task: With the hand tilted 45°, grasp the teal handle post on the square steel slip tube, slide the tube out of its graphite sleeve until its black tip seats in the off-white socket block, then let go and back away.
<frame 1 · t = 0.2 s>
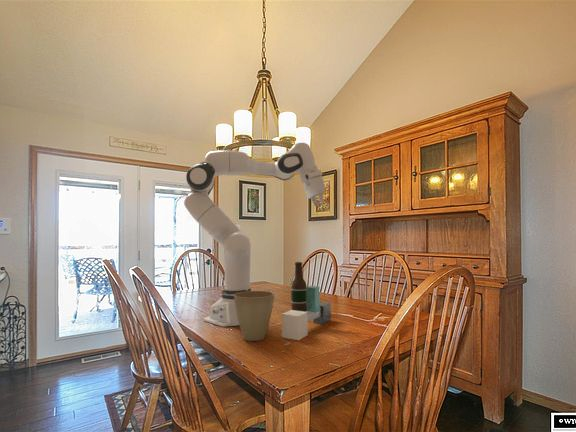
hand: (319, 204, 148), 51 cm above the table, tool tilted 15°, fingers open, 8 cm apart
beer bottle: (299, 311, 157), on the table
plant pot: (254, 338, 117), on the table
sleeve: (322, 312, 138), on the table
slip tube: (314, 301, 132), point 10 cm above the table, slide at 0.0 cm
socket block: (294, 324, 118), on the table
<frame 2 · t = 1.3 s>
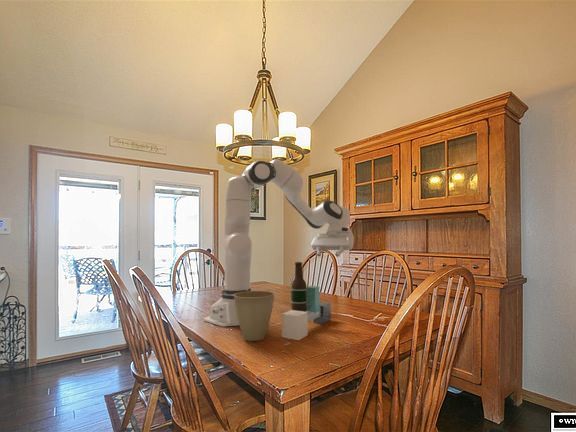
hand: (327, 255, 146), 28 cm above the table, tool tilted 45°, fingers open, 8 cm apart
nothing on the table moved.
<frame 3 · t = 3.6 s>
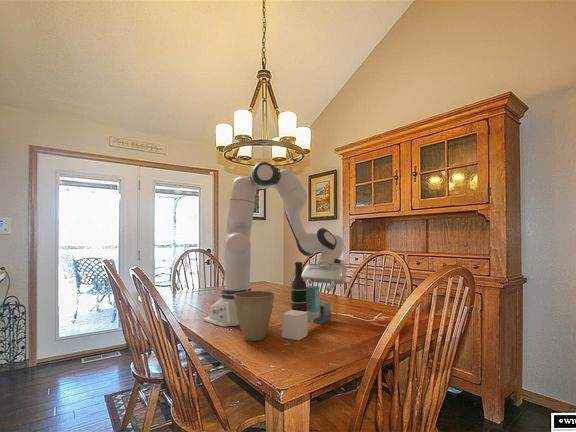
hand: (318, 289, 136), 14 cm above the table, tool tilted 45°, fingers open, 8 cm apart
nothing on the table moved.
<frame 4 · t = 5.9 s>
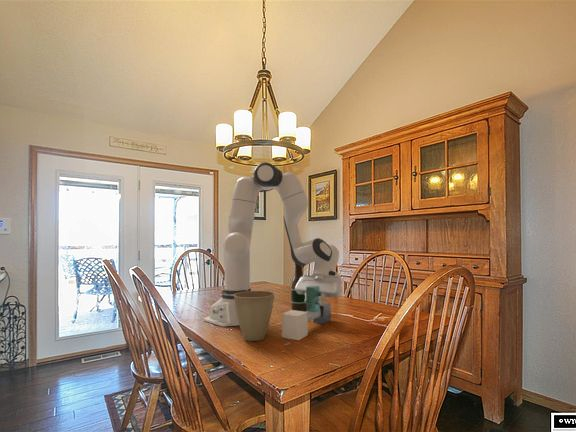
hand: (312, 303, 131), 9 cm above the table, tool tilted 45°, fingers closed on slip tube, 4 cm apart
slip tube: (314, 301, 132), point 10 cm above the table, slide at 0.0 cm, touching gripper
everything else where it was.
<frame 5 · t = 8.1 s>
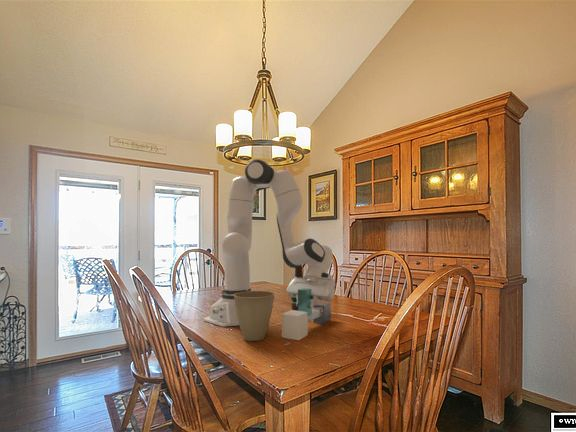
hand: (303, 306, 125), 9 cm above the table, tool tilted 45°, fingers closed on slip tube, 4 cm apart
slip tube: (306, 304, 126), point 10 cm above the table, slide at 7.0 cm, touching gripper
everything else where it was.
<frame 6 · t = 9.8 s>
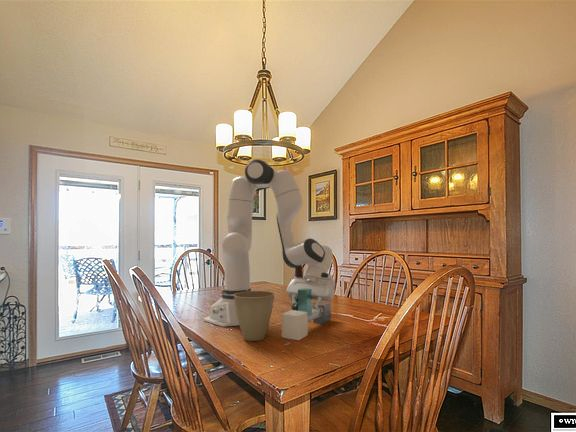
hand: (303, 306, 125), 9 cm above the table, tool tilted 45°, fingers open, 8 cm apart
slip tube: (306, 304, 126), point 10 cm above the table, slide at 7.0 cm
everything else where it was.
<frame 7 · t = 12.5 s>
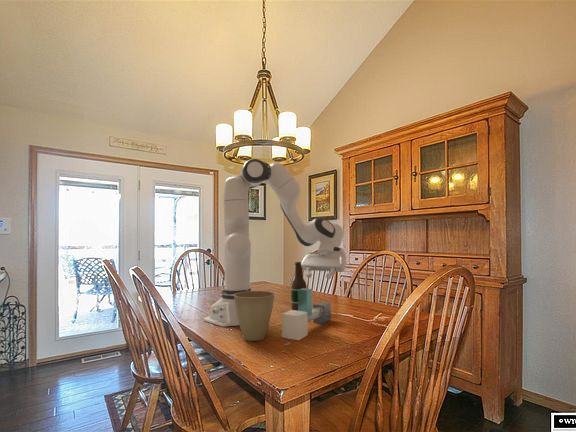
hand: (318, 277, 136), 19 cm above the table, tool tilted 45°, fingers open, 8 cm apart
nothing on the table moved.
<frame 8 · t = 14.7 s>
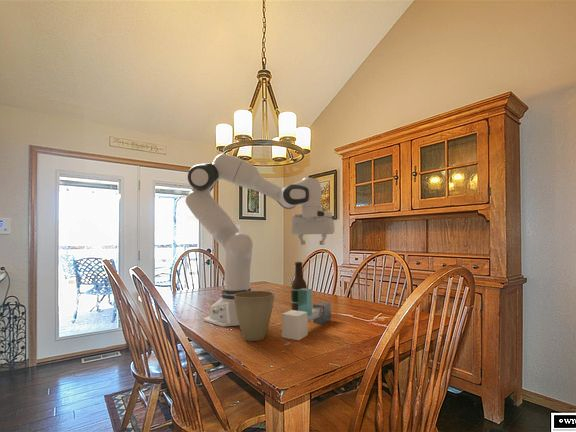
hand: (312, 244, 142), 33 cm above the table, tool pointing down, fingers open, 8 cm apart
nothing on the table moved.
at the end: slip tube slide at 7.0 cm; the gripper is holding nothing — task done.
